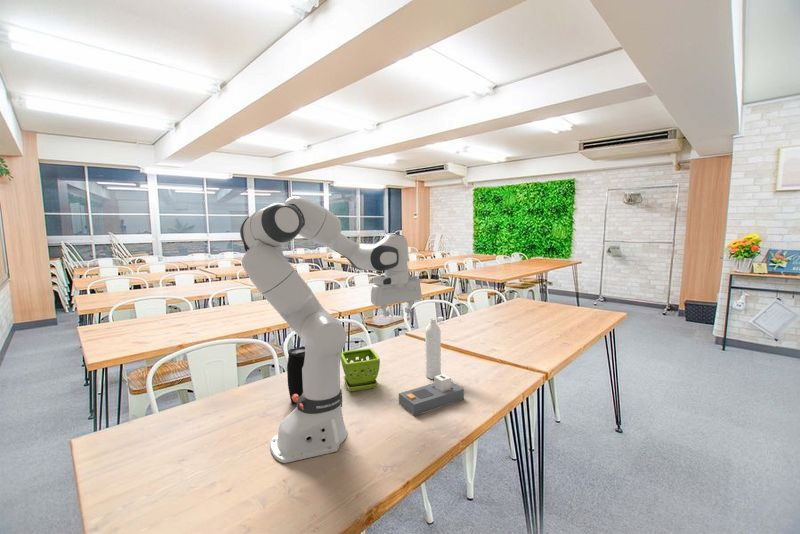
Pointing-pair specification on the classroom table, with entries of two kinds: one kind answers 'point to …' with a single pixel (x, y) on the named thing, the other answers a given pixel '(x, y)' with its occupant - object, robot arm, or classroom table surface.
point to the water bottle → (433, 349)
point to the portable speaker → (295, 371)
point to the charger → (442, 383)
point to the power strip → (429, 398)
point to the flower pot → (360, 369)
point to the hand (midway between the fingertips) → (397, 314)
